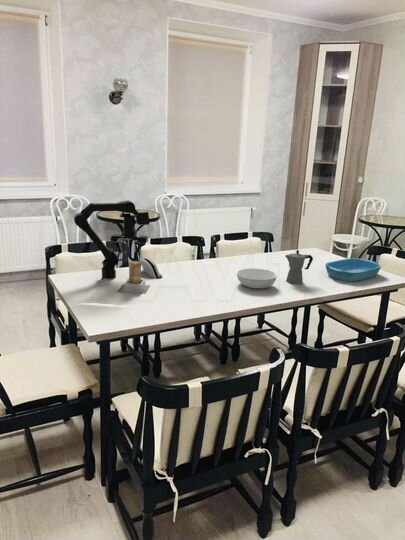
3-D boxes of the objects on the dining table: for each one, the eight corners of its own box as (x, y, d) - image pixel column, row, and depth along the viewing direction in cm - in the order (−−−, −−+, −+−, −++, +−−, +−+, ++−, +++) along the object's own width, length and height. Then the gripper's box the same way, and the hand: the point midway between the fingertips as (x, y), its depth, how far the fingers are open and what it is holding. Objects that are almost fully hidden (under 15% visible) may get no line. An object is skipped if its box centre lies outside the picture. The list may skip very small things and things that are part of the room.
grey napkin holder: (162, 277, 241) (157, 261, 237) (155, 281, 239) (149, 265, 235) (151, 269, 255) (146, 254, 251) (144, 272, 253) (138, 257, 249)
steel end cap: (124, 292, 212) (124, 283, 211) (128, 286, 220) (128, 278, 219) (141, 293, 212) (141, 284, 210) (145, 288, 220) (145, 279, 218)
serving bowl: (252, 277, 249) (253, 265, 247) (283, 287, 235) (284, 274, 233) (228, 284, 235) (228, 272, 233) (258, 295, 221) (260, 282, 219)
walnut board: (116, 293, 212) (116, 291, 212) (123, 285, 225) (123, 283, 225) (145, 295, 212) (145, 293, 212) (150, 287, 224) (150, 285, 224)
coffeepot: (284, 283, 240) (287, 251, 235) (280, 278, 249) (284, 247, 244) (312, 284, 241) (316, 252, 236) (307, 279, 250) (311, 248, 245)
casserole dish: (349, 285, 244) (351, 273, 242) (317, 275, 261) (318, 263, 259) (386, 276, 265) (388, 264, 263) (354, 267, 282) (355, 256, 280)
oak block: (129, 288, 215) (129, 262, 211) (135, 286, 218) (135, 260, 215) (134, 290, 213) (134, 264, 209) (140, 287, 217) (141, 262, 213)
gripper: (149, 223, 237) (150, 251, 241) (115, 221, 238) (116, 250, 242) (145, 227, 226) (146, 256, 230) (109, 225, 227) (110, 255, 232)
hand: (129, 254), depth 234 cm, fingers open, 9 cm apart
